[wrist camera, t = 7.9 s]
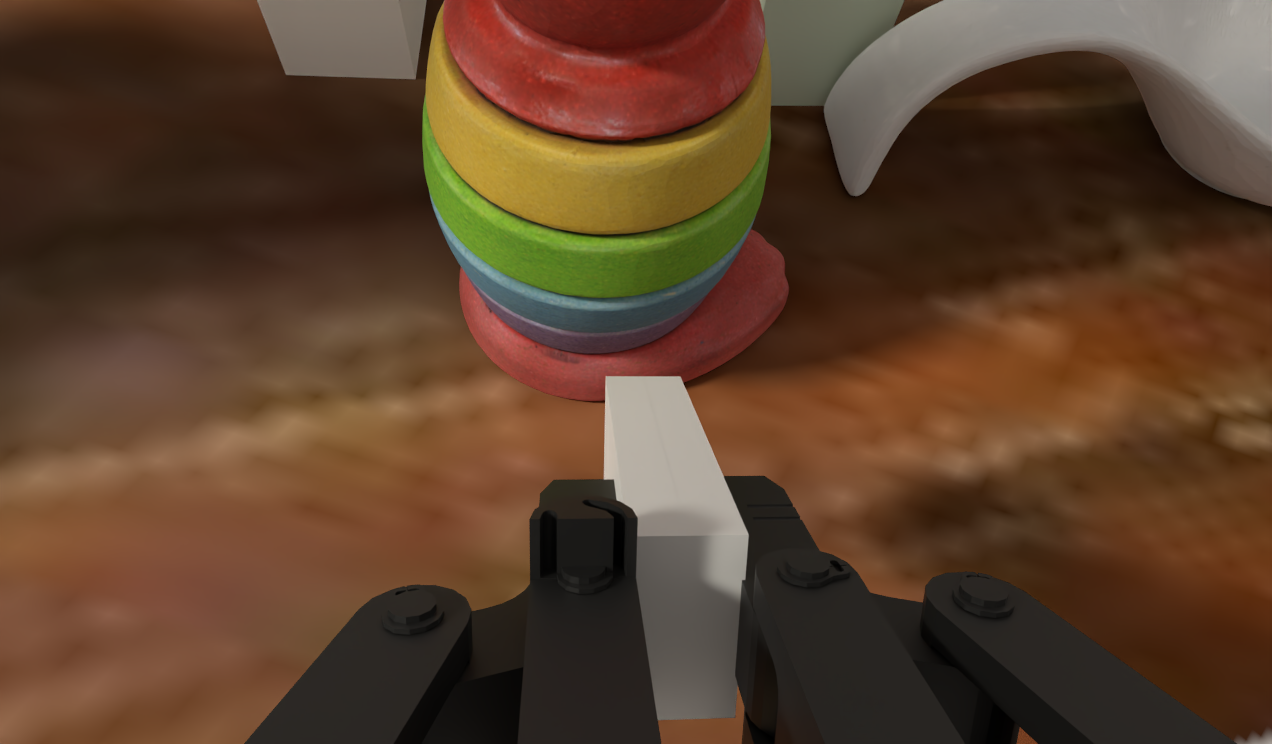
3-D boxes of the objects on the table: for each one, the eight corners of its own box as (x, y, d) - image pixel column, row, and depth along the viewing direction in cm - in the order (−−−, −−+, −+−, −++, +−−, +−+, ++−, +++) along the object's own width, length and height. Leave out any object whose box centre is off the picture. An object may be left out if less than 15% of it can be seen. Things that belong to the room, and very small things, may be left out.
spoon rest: (1296, 44, 38) (1441, -109, 32) (1442, 252, 32) (1652, 117, 26) (798, 59, 35) (848, -105, 29) (867, 290, 30) (946, 149, 23)
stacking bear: (809, 292, 29) (1085, -311, 13) (608, 482, 25) (667, -52, 10) (593, 124, 32) (614, -527, 17) (385, 271, 28) (153, -396, 13)
